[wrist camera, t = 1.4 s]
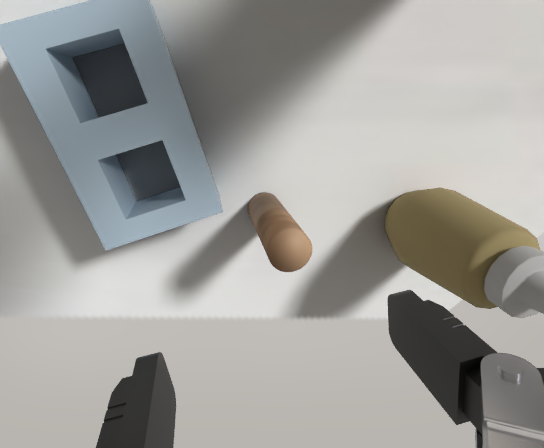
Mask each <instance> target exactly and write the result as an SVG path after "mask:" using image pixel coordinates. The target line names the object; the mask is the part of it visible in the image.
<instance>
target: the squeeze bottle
mask: <svg viewBox="0 0 544 448" xmlns="http://www.w3.org/2000/svg"><path fill="white" fill-rule="evenodd" d="M385 231H386V233H387V236H388V238H389V240H390V243H391V245H392V247H393V249H394V251H395V253H396V255H397V257H398V259H399V261H401V262H402V263H404V264H405V265H407V266H408V267H409V268H411V269H413V270H414V271H416V272H418V273H419V274H421V275H423V276H425V277H426V278H428V279H430V280H431V281H433V282H435V283H436V284H438V285H440V286H441V287H443V288H445V289H447V290H448V291H450V292H452V293H453V294H455V295H457V296H458V297H460V298H462V299H463V300H465V301H467V302H468V303H470V304H472V305H474V306H475V307H479V308H488V309H491V308H495V307H499V308H500V309H502V310H503V311H504V312H506V313H507V314H509V315H510V316H512V317H519V318H524V317H528V316H532V315H535V314H537V313H538V312H541V313H543V314H544V252H543V251H541V250H540V248H539V244H538V241H537V238H536V237H535V236H534V235H532V234H531V233H530V232H529V231H528V230H527V229H525V228H523V227H521V226H519V225H518V224H516V223H514V222H512V221H510V220H508V219H506V218H505V217H503V216H501V215H499V214H497V213H495V212H493V211H491V210H490V209H488V208H486V207H484V206H482V205H480V204H478V203H476V202H475V201H473V200H471V199H469V198H467V197H465V196H463V195H462V194H460V193H458V192H456V191H452V190H448V189H444V188H435V189H426V190H417V191H412V192H408V193H405V194H403V195H402V196H400V197H399V198H397V199H396V200H395V201H394V202H393V204H392V205H391V206H390V207H389V209H388V211H387V214H386V217H385Z"/></svg>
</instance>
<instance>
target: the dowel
mask: <svg viewBox="0 0 544 448" xmlns="http://www.w3.org/2000/svg"><path fill="white" fill-rule="evenodd" d="M248 213H249V216H250V218H251V220H252V222H253V225H254V227H255V229H256V231H257V234H258V236H259V238H260V240H261V242H262V245H263V247H264V249H265V251H266V254H267V256H268V258H269V260H270V262H271V264H272V265H273V266H274V267H275V268H276V269H278V270H280V271H283V272H293V271H296V270H299V269H300V268H302V267H303V266H304V265H306V263H307V262H308V261H309V259H310V257H311V254H312V244H311V241H310V239H309V238H308V237H307V235H306V234H305V233H304V232H303V230H302V229H301V228H300V227H299V225H298V224H297V223H296V222H295V220H294V219H293V218H292V217H291V215H290V214H289V213H288V212H287V210H286V209H285V208H284V207H283V205H282V204H281V203H280V202H279V200H278V199H277V198H276V197H275V196H274V195H272V194H270V193H266V192H264V193H259V194H257V195H255V196H254V197H253V198H252V199H251V200H250V202H249V205H248Z"/></svg>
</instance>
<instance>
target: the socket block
mask: <svg viewBox="0 0 544 448" xmlns="http://www.w3.org/2000/svg"><path fill="white" fill-rule="evenodd" d="M123 43H125V46H126V48H127V51H128V53H129V56H130V58H131V61H132V64H133V66H134V69H135V71H136V74H137V76H138V79H139V82H140V84H141V87H142V89H143V92H144V94H145V97H146V99H147V102H148V103H147V104H143V105H140V106H137V107H133V108H130V109H127V110H123V111H120V112H116V113H113V114H110V115H106V116H103V117H100V118H99V116H98V114H97V112H96V109H95V107H94V105H93V103H92V100H91V98H90V96H89V94H88V91H87V89H86V87H85V85H84V83H83V80H82V78H81V76H80V74H79V71H78V69H77V67H76V65H75V62H74V60H73V57H76V56H80V55H83V54H87V53H91V52H94V51H98V50H101V49H105V48H108V47H112V46H115V45H119V44H123ZM0 45H1V47H2V49H3V51H4V53H5V55H6V57H7V59H8V61H9V63H10V65H11V67H12V69H13V71H14V73H15V75H16V77H17V78H18V80H19V82H20V84H21V86H22V88H23V90H24V92H25V94H26V96H27V98H28V100H29V102H30V104H31V106H32V108H33V110H34V112H35V114H36V116H37V118H38V119H39V121H40V123H41V125H42V127H43V129H44V131H45V133H46V135H47V137H48V139H49V141H50V143H51V145H52V147H53V149H54V151H55V153H56V155H57V157H58V159H59V160H60V162H61V164H62V166H63V168H64V170H65V172H66V174H67V176H68V178H69V180H70V182H71V184H72V186H73V188H74V190H75V192H76V194H77V196H78V198H79V200H80V201H81V203H82V205H83V207H84V209H85V211H86V213H87V215H88V217H89V219H90V221H91V223H92V225H93V227H94V229H95V231H96V233H97V235H98V237H99V239H100V241H101V243H102V244H103V246H104V248H105V250H109V249H112V248H116V247H119V246H122V245H125V244H128V243H131V242H134V241H137V240H140V239H143V238H146V237H149V236H152V235H155V234H158V233H161V232H164V231H167V230H170V229H173V228H176V227H179V226H182V225H185V224H188V223H191V222H194V221H197V220H200V219H203V218H206V217H209V216H212V215H215V214H218V213H221V212H223V211H222V206H221V202H220V198H219V194H218V191H217V188H216V185H215V183H214V180H213V177H212V174H211V171H210V168H209V165H208V163H207V160H206V157H205V154H204V151H203V148H202V145H201V143H200V140H199V137H198V134H197V131H196V128H195V125H194V123H193V120H192V117H191V114H190V111H189V108H188V106H187V103H186V100H185V97H184V94H183V91H182V88H181V86H180V83H179V80H178V77H177V74H176V71H175V68H174V66H173V63H172V60H171V57H170V54H169V51H168V48H167V46H166V43H165V40H164V37H163V34H162V31H161V29H160V26H159V23H158V20H157V17H156V14H155V11H154V9H153V6H152V4H151V2H150V0H90V1H87V2H83V3H79V4H76V5H72V6H68V7H64V8H61V9H57V10H53V11H49V12H46V13H42V14H38V15H34V16H31V17H27V18H23V19H20V20H16V21H12V22H8V23H5V24H1V25H0ZM161 140H163V143H164V146H165V148H166V151H167V153H168V156H169V158H170V161H171V163H172V166H173V169H174V171H175V174H176V176H177V179H178V181H179V184H180V186H181V187H179V188H176V189H173V190H170V191H167V192H163V193H160V194H157V195H154V196H151V197H148V198H145V199H142V200H139V201H136V199H135V197H134V194H133V192H132V190H131V188H130V185H129V183H128V181H127V179H126V176H125V174H124V172H123V170H122V167H121V165H120V163H119V161H118V159H117V156H116V154H119V153H122V152H126V151H129V150H132V149H135V148H139V147H142V146H145V145H148V144H152V143H155V142H158V141H161Z"/></svg>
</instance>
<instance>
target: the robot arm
mask: <svg viewBox="0 0 544 448" xmlns="http://www.w3.org/2000/svg"><path fill="white" fill-rule="evenodd" d="M388 320H389V334H390V337H391V340H392V342H393V344H394V346H395V348H396V349H397V350H398V351H399V353H400V354H401V355H402V357H403V358H404V359H405V360H406V362H407V363H408V364H409V366H410V367H411V368H412V369H413V371H414V372H415V373H416V374H417V376H418V377H419V378H420V379H421V381H422V382H423V383H424V384H425V386H426V387H427V388H428V390H429V391H430V392H431V393H432V395H433V396H434V397H435V398H436V400H437V401H438V402H439V403H440V404H441V406H442V407H443V408H444V410H445V411H446V412H447V414H448V415H449V416H450V417H451V418H452V420H453V421H454V422H455V424H456V425H458V424H462V423H465V422H468V421H471V423H472V424H473V425H474V426H475V427H476V432H475V443H476V448H544V368H536V367H535V366H534V365H532V364H531V363H530V362H528V361H526V360H525V359H523V358H520V357H518V356H515V355H511V354H506V353H497V352H496V351H495V350H494V349H492V348H491V347H490V346H489V345H488V344H487V343H485V342H484V341H483V340H482V339H481V338H479V337H478V336H477V335H476V334H475V333H474V332H472V331H471V330H470V329H469V328H468V327H467V326H464V325H463V323H462V322H461V321H460V320H458V319H457V318H455V317H454V316H453V314H451V313H450V312H449V311H448V310H447V309H445V308H444V307H443V306H441V305H439V304H436V303H434V302H432V301H430V300H426V301H423V300H422V299H421V298H419V297H418V296H417V295H416V294H415V293H414V292H413V291H411V290H406V291H403V292H399V293H395V294H391V295H389V296H388ZM175 413H176V398H175V391H174V387H173V384H172V381H171V378H170V375H169V372H168V369H167V366H166V363H165V360H164V357H163V355H162V353H161V352H159V353H155V354H151V355H147V356H143V357H139V358H137V359H136V363H135V367H134V371H133V375H132V376H130V377H126V378H123V379H122V380H121V381H120V382H119V384H118V385H117V386H116V388H115V389H114V391H113V392H112V394H111V397H110V401H109V404H108V410H107V411H106V415H105V419H104V423H103V425H102V428H101V432H100V435H99V439H98V442H97V446H96V448H173V443H174V442H173V441H174V429H175Z"/></svg>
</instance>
